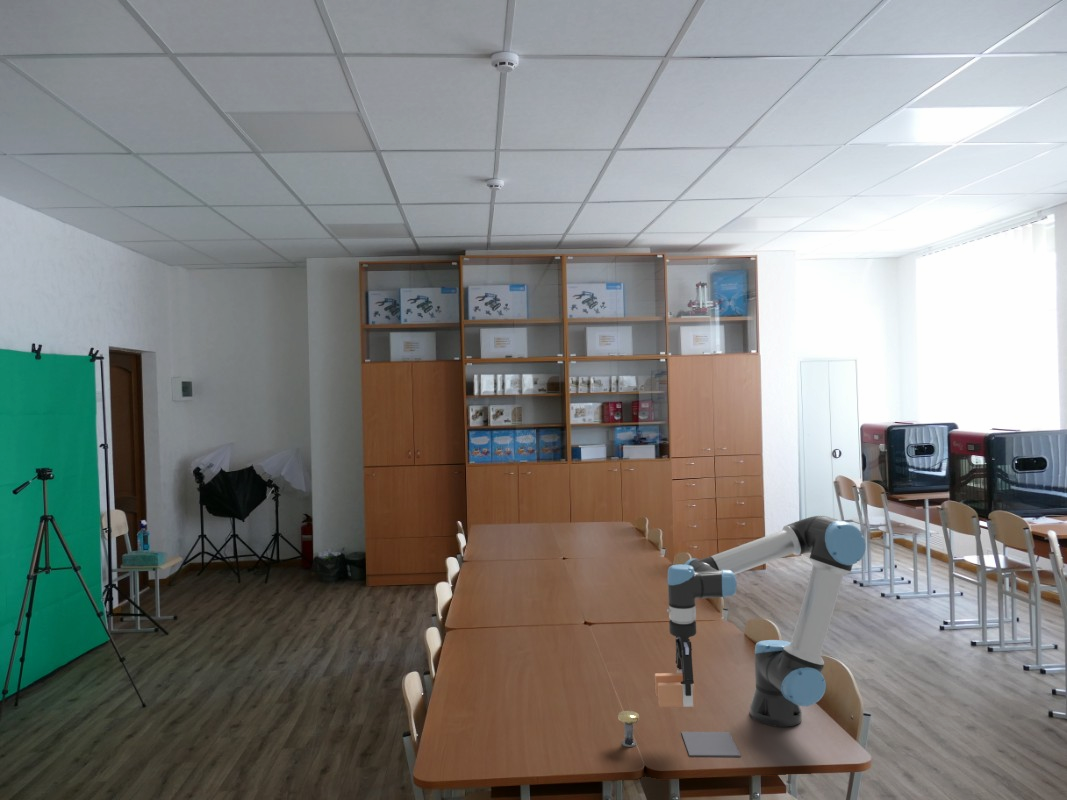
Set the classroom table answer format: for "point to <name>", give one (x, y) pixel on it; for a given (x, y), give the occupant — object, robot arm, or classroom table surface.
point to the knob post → (628, 726)
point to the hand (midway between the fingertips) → (685, 698)
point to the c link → (670, 689)
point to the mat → (710, 744)
